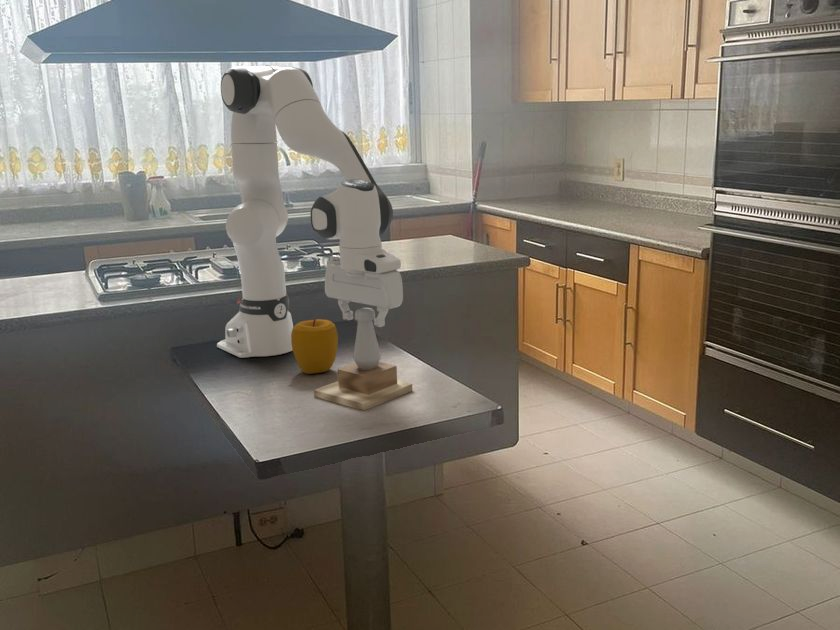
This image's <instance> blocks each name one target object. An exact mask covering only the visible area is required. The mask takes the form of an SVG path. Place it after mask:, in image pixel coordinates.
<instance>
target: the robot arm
mask: <svg viewBox="0 0 840 630" xmlns="http://www.w3.org/2000/svg"><path fill="white" fill-rule="evenodd" d="M220 96H221V98H222V99H221V100H222V102H223V104H224V105H225V107H226V109H228V110H229V111H231V113H232V116H231V124H230V127H231V128H230V132H231V133H230V136H231V137H230V139H231V140H230V141H231V142H230V143H231V144H230V145H231V158H232V159H231V161H232V174H233V177H234V180H235V181H236V183H237V187H238V191H239V193H240V197H241V203H240V204H238V205H236V206H235V207H234V208H233V209H232V211H231V212H230V213H229V214H228V216H227V219H226V221H225V230H226V234H227V236H228V238H229V239H230V241H231V242H232V244H233V249H234V251H235V255H236V258H237V262H238V265H239V272H240V280H241V281H240V283H241V292H242V297H241V298H238V299H236V301H238V302H237V304H238V305H239V308H238V309H239V311H238V312H237V313H236V314H235V315H234V316H233V317H232V318H231V319H230V320H229V321H228V322H227V323H226V325H225V333H224V335H225V339H222V340H220V341H219V342H217V343H216V347H217V348H219V349H221V350H222V351H225V352H226V353H229V354H232V355H234V356H236V357H238V358H241V359H243V358H250V357H251V358H252V357H270V356H271V357H272V356H278V355H282V354H287V353H289V352H293V350H292V345H291V333H292V329H293V328H294V324H293V319H292V314H291V312H290V311H289V308H290V299H289V294H288V293H287V286H286V274H285V273H286V272H285V265H284V262H283V261H282V259H281V256H280V253H279V248H278V244H277V237H279V235H281V234H282V233H283V232H284V231H285V228H286V227H287V224H288V221H289V214H288V210H287V207H286V206H285V200H284V199H285V198H284V195H283V189H282V185H281V180H280V174H279V173H280V172H279V158H278V157H279V156H278V136H277V135H278V134H279V136H280V138H281V140H282V141H283V142H284V144H285V145H286V146H287V147H288V148H289V149H291V150H292V151H294V152H296V153H298V154H302V155H303V156H308V157H313V158H315V159H319V160H323V161H325V162H328V163H329V164H332V165H333V166H334V167H336V169H338V170H339V171H340V173H341V174H342V176H343V178H344V179H345V180H343V181H341V182H340V183H339V184H338V186H337V188H336V189H335V190H333V191H332V192H330V193H328V194H325V195H322V196H319V197H317V199H316V200H314V202H313V205H312V207H311V209H310V223H311V227H312V230H313V231H314V232H315V234H317V236H319V237H320V238H322V239H324V240H331V241H332V240H339V244H338V248H339V249H338V250H339V251H338V252H339V255H336V254H334V255H331V256H330V257H328V258H327V260H326V269H325V275H324V293H325V295H326V296H327V298H330V299H331V298H332V299H337V303H338V307H339V308H340V311H341V312H342V319H343V320H344V321H351V320H353V319H354V311H352V310H351V309H350V306H349V303H350V302H351V303H357V304H363V305H367V306H372V307H376V311H377V312H378V313H377V317H375V318H374V320H373V322H374V323H373V326H375V327H378V328H382V327H385V326H386V323H385V322H386V317H387V314H388V312H389V310H390V309H395V308H398V307H400V306H401V305H402V304H403V300H404V290H403V289H404V287H403V279H402V275H401V273H400V271H398V270H399V269H401V265H402V261H401V259H399V257H396V256H395V255H392V254H391V253H389V252H387V250H385V249H383V248H382V245H383V244H382V240H381V237H380V236H382V235H383V234H384V233H386V232H387V230H388V228H389V227H390V225H391V223H392V222H393V220H394V219H393V218H394V211H393V206H392V203H391V201H390V199H389V198H388V196H387V195H386V194H385V193H384V191H383V190H382V189H381V188H380V187H379V185H378V183H377V182H376V181H375V179H374V176H373V175H372V174H371V172H370V170H369V168H368V167H367V165H366V164H365V162H364V160H363V158H362V156H361V155H360V153H359V151H358V150H357V148H356V146H355V145H354V143H353V141H352V140H351V138H350V137H349V136H348V135H347V133H345V132H344V131H343V130H341V129H339V127H337V126H336V125H335V124H334V122H333V121H332V120H331V119H330V117H329V116H328V115H327V113H326V112H325V111H324V108H323V106H322V104H321V101H320V99H319V96H318V94H317V92H316V90H315V89H314V85H313V80H312V79H311V76H310V75H309V73H308V72H307V71H305V70H304V69H301V68H298V67H294V66H289V67H287V66H281V65H272V64H270V65H269V64H268V65H267V64H266V65H251V66H243V65H239V66H238V65H237V66H234V67H230V68H228V69H226V70H225V72H224V74H223V75H222V78H221V81H220ZM277 132H278V134H277Z"/></svg>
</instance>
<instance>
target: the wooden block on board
mask: <svg viewBox="0 0 840 630" xmlns="http://www.w3.org/2000/svg"><path fill="white" fill-rule="evenodd" d="M397 369H398V368H397V365H395V364H391V363H387V362H382V361H379V363H378V366H377V368H375V369H372V370H361V369H359V368H358V366H357V364H356V362H354V363H351V364H349V365H345V366H343V367H340V368H337V381H334V382H331V383H329V384H326V385H323V386H320V387H318V388H315V389H313V395H314V397H315V398H318V399H322V400H326V401H330V402H333V403H336V404H340V405H343V406H346V407H349V408H353V409H357V410H360V411H367V410H369V409H371V408H374V407H377V406H378V405H381V404H383V403H386V402H388V401H391V400H393V399H396V398H397V397H400V396H403V395H405V394H407V393H410V392H412V391H413V384H412V383H410V382H405V381H401V380H398V370H397Z"/></svg>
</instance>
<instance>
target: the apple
mask: <svg viewBox="0 0 840 630" xmlns="http://www.w3.org/2000/svg"><path fill="white" fill-rule="evenodd" d="M338 339H339V335H338V330H337V327H336V324H335V323H333V322H332V321H331V320H328V319H321V318H318V319H315V318H314V319H310V320H309V319H307V320H302V321H299V322H298V323H296V324H295V325H293V329H292V333H291V345H292V353H293V356H294V358H295V360H296V362H297V365H298V367H299V369H300V370H301V372H302V373H304V374H306V375H308V374H309V375H311V374H319V373H326V372H328V371H329V370H331V368H332V366H333V365H334V363H335V360H336V357H337V352H338V346H339V345H338V344H339V343H338Z"/></svg>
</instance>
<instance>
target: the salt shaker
mask: <svg viewBox="0 0 840 630" xmlns="http://www.w3.org/2000/svg"><path fill="white" fill-rule="evenodd" d="M354 318H355V320H356V321H357V327H356V335H355V343H354V351H353V359H354V363H356V364H357V366H358V368H359V369H361V370H372V369H375V368H377V366H378V363H379V362H380V360H381V357H382V354H381V351H380V347H379V343H378V339H377V336H376V335H377V334H376V330H375V327H374V323H373V322H374V318H376V312H375V310H374V309H373V308H371V307H360V308H357V309H356V310H355V312H354Z"/></svg>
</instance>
